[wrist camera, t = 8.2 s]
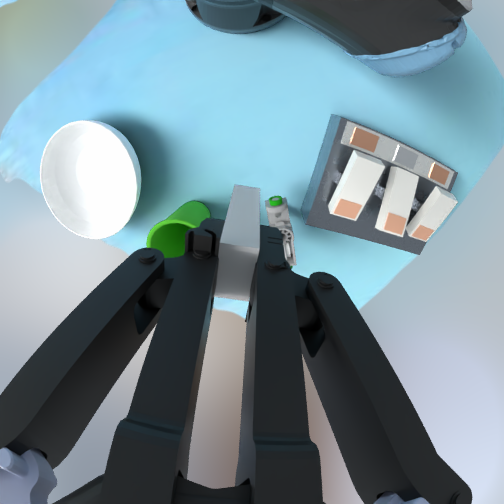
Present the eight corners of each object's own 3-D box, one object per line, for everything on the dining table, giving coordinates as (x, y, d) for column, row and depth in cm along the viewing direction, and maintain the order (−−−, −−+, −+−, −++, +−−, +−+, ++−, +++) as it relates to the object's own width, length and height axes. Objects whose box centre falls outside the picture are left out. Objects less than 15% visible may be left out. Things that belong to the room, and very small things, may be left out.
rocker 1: (353, 149, 30) (357, 156, 29) (380, 160, 30) (385, 167, 29) (328, 205, 36) (330, 214, 35) (353, 213, 37) (356, 221, 35)
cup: (224, 238, 46) (215, 279, 37) (173, 239, 46) (153, 278, 37) (220, 187, 41) (209, 218, 32) (165, 190, 41) (139, 221, 32)
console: (331, 114, 34) (343, 117, 29) (441, 163, 37) (462, 175, 31) (300, 210, 43) (306, 228, 38) (408, 240, 45) (422, 258, 40)
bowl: (168, 206, 43) (156, 223, 38) (84, 232, 46) (68, 249, 41) (131, 96, 33) (111, 98, 28) (47, 143, 36) (26, 152, 31)
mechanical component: (281, 175, 40) (288, 199, 31) (291, 233, 45) (298, 269, 37) (262, 178, 40) (263, 203, 32) (273, 236, 46) (276, 272, 37)
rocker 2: (390, 166, 33) (397, 166, 31) (412, 175, 33) (419, 176, 31) (374, 227, 35) (381, 230, 33) (396, 234, 36) (403, 237, 34)
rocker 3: (436, 185, 31) (441, 194, 30) (453, 194, 31) (458, 202, 30) (405, 227, 38) (409, 236, 37) (422, 233, 38) (426, 242, 37)
